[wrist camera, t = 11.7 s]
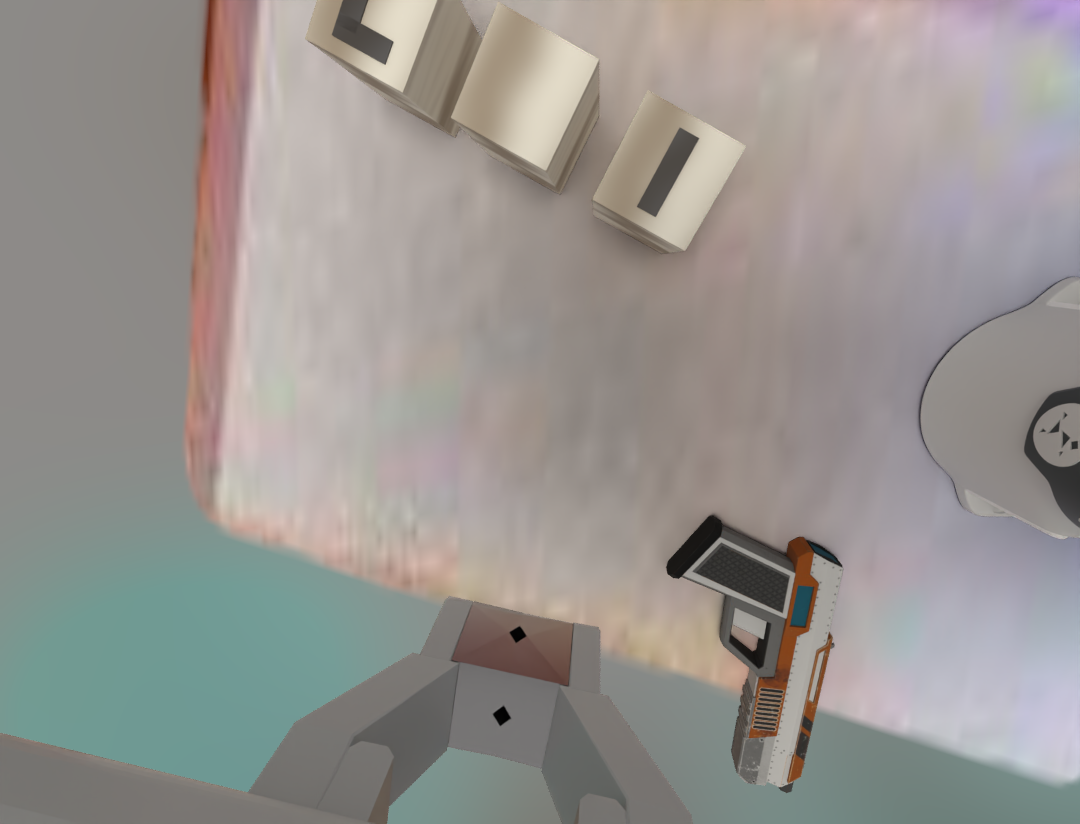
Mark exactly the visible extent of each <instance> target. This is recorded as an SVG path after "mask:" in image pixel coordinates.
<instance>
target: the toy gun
mask: <svg viewBox="0 0 1080 824" xmlns="http://www.w3.org/2000/svg"><path fill="white" fill-rule="evenodd" d="M666 568H667V574H668V575H670V576H671V577H673V578H678V579H679V578H680V577H683V578H686V579H688V580H690V581H693V582H695V583H698V584H700V585H703V586H705V587H707V588H710V589H712V590H715V591H717V592H720V593H722V594H724V595H726V598H725V604H724V611H723V617H722V624H721V630H720V640H721V642H722V644H723V646H724V647H725V648H726V649H728V650H729V651H730V652H731V653H732V654H734V655H735V656H736V657H737V658H738V659H740V660H741V661H742V662H743V663H744V664H746V665H747V666H748V667H749V673H748V679H746V683H745V685H743V689H742V690H743V693H744V694H741V697H740V701H741V705H739V709H738V712H739V716H737V720H736V725H735V731H734V737H733V742H732V748H731V752H732V756H733V760H734V764H735V768H736V772H737V773H738V774H739V776H740V777H741V778H742V779H743V780H744V781H745V782H746V783H750V784H759V785H766V782H769V783H771V784H774V785H776V786H778V787H779V789H780V790H782V791H784V792H786V793H788V792H791V790H792V785H793V781H794V780H796V779H798V778H799V777H801V773H802V769H803V767H804V761H805V756H806V752H807V747H808V743H809V739H810V735H811V730H812V725H813V722H814V717H815V713H816V709H817V704H818V700H819V696H820V691H821V687H822V683H823V678H824V674H825V670H826V665H827V661H828V657H829V652H830V649H832V648H833V647H834V643H832V639H833V637H832V635H831V634H830V632H829V630H830V625H831V621H832V616H833V612H834V608H835V603H836V599H837V594H838V590H839V586H840V581H841V577H842V572H843V567H842V565H841V563H840V562H839V561H838V559H837V558H836V557H835V556H834V555H833V554H831V553H830V552H829V551H827V550H826V549H825V548H823V547H822V546H820V545H817V544H815V543H813V542H810V541H808V540H807V541H806V540H805V539H804V537H798V538H796V539H794V540H792V541H790V542H789V543H788V548H787V554H786V556H784V555H782V554H780V553H778V552H776V551H774V550H772V549H770V548H768V547H766V546H764V545H762V544H759V543H757V542H755V541H753V540H751V539H749V538H747V537H745V536H743V535H741V534H739V533H737V532H735V531H733V530H731V529H729V528H726V527H724V526H723V525H722V523H721V521H720V520H719V519H717V518H715V517H713V516H709V517H708V518H707V519H706V520H705V521H704V522H703V523H702V524H701V525H700V527H699V528H698V529H697V530H696V531H695V532H694V533H693V534H692V535H691V537H690V538H689V539H688V540H687V541H686V542H685V543H684V544H683V545H682V547H681V548H680V549H679V550H678V551H677V552H676V553H675V554H674V555H673V557H672V558H671V559H670V560H669V561H668V564H667V567H666ZM732 625H734V626H736V627H739V628H741V629H743V630H745V631H747V632H749V633H751V634H753V635H755V636H757V637H759V639H758V644H757V650H756V651H754V652H752V651H751V650H749V649H748V648H747V647H745V646H744V645H743V644H741V643H740V642H739V641H737V640H736V639H735V638H733V637H732V636H731V635H730V633H731V627H732Z"/></svg>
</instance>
